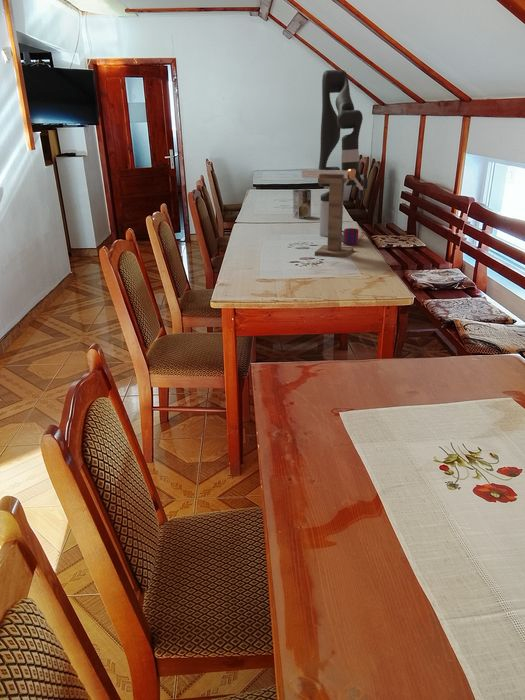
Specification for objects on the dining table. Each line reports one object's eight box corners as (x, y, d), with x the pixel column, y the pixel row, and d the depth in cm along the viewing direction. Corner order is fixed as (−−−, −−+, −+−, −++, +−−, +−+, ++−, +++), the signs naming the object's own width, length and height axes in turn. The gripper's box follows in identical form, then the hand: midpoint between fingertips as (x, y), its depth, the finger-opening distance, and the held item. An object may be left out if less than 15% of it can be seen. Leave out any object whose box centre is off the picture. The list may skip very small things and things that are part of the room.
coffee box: (304, 215, 332) (305, 188, 325) (311, 217, 327) (311, 189, 320) (292, 217, 327) (292, 189, 321) (298, 218, 322) (299, 190, 316)
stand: (323, 248, 247) (325, 172, 234) (353, 250, 242) (357, 172, 229) (314, 255, 235) (316, 175, 222) (345, 257, 230) (349, 176, 217)
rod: (304, 178, 234) (304, 167, 232) (355, 179, 226) (355, 168, 224) (301, 179, 230) (301, 168, 228) (352, 180, 222) (353, 169, 220)
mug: (357, 245, 252) (358, 231, 249) (336, 245, 253) (336, 230, 251) (357, 242, 258) (358, 228, 255) (336, 242, 259) (337, 228, 257)
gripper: (364, 159, 234) (364, 198, 239) (332, 162, 233) (333, 200, 239) (368, 159, 227) (368, 199, 232) (335, 162, 226) (336, 201, 232)
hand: (350, 200), depth 235 cm, fingers open, 8 cm apart
